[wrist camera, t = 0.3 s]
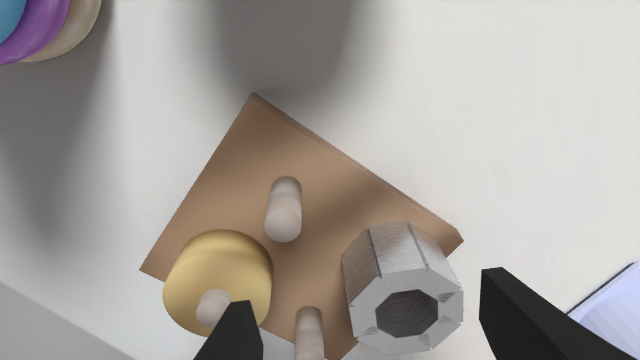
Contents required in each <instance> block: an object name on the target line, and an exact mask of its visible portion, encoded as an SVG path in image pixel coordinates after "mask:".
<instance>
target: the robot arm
mask: <svg viewBox="0 0 640 360" xmlns="http://www.w3.org/2000/svg"><path fill="white" fill-rule="evenodd" d="M479 320H480V323H481V325H482V328H483V330H484V333H485V335H486V338H487V340H488V343H489V345H490V347H491V350H492V352H493V354H494V356H495V357H496V359H497V360H640V262H637V263H634V264H633V265H631V266H630V267H629V268H627V269H626V270H625V271H624V272H622V273H621V274H620V275H618V276H617V277H616V278H614V279H613V280H612V281H611V282H609V283H608V284H607V285H605V286H604V287H603V288H601V289H600V290H599V291H598V292H596V293H595V294H594V295H592V296H591V297H590V298H588V299H587V300H586V301H585V302H583V303H582V304H581V305H579V306H578V307H577V308H575V309H574V310H573V311H572V312H570V313H569V314H568V315H566V314H565V313H563V312H562V311H561V310H559V309H558V308H556V307H555V306H554V305H552V304H551V303H549V302H548V301H547V300H545V299H544V298H543V297H541V296H540V295H538V294H537V293H536V292H534V291H533V290H532V289H530V288H529V287H528V286H526V285H525V284H524V283H522V282H521V281H520V280H519V279H517V278H516V277H515V276H513V275H512V274H511V273H509V272H508V271H507V270H505V269H504V268H503V267H498V268H490V269H482V273H481V290H480V308H479ZM193 360H263V343H262V339H261V336H260V332H259V329H258V326H257V322H256V319H255V315H254V312H253V308H252V305H251V302H250V300H243V301H236V302H231V303H230V304H229V305H228V307H227V308H226V310H225V311H224V313H223V315H222V316H221V318H220V319H219V321H218V323H217V324H216V326H215V328H214V329H213V331H212V332H211V334H210V335H209V337H208V338H207V340H206V342H205V343H204V345H203V346H202V347H201V349H200V350H199V352H198V353H197V355H196V356H195V358H194V359H193Z"/></svg>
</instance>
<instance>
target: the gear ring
mask: <svg viewBox="0 0 640 360" xmlns="http://www.w3.org/2000/svg"><path fill="white" fill-rule="evenodd" d="M368 229H369V230H368ZM368 229H366V228H364V229H363V230H362V231H361V232H360V233H359V234H358V236H357V237H356V238H355V239H354V240H353V241H352V242H351V243H350V244H349V246H348V247H347V248H346V249H345V250H344V251H343V255H342V262H343V269H344V276H345V283H346V290H347V297H348V304H349V311H350V317H351V322H352V328H353V334H354V337H356V340H357V341H359V342H361V343H363V344H365V345H367V346H369V347H371V348H373V349H375V350H377V351H379V352H381V353H383V354H385V355H388V354H389V353H390V355H391V356H393V355H400V354H407V353H414V352H421V351H428V350H430V348H429V346H430V347H432V348H433V349H434V348H435V347H436V346H437V345H438V344H439V343H441V342H442V341H443V340H444V339H445V338H446V337H448V336H449V335H450V334H451V333H452V332H453V331H454V330H456V329H457V328H458V327H459V326H460V325H461V323H460V322H463V289H462V287H461V285H460V284H459V282H458V280H457V278H456V276H455V274H454V272H453V270H452V269H451V267H450V265H449V263H448V261H447V259H446V257H445V256H444V254H443V252H442V250H441V248H440V246H439V244H438V243H437V241H436V239H435V238H434V237H433V236H431V235H429V234H428V233H426V232H425V231H423V230H422V229H420V228H419V227H417V226H416V225H414V224H413V223H411V222H409V221H408V222H407V223H406V222H405V220H402V221H396V222H389V223H383V224H376V225H370V226H368Z"/></svg>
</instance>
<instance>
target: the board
mask: <svg viewBox="0 0 640 360" xmlns="http://www.w3.org/2000/svg"><path fill="white" fill-rule="evenodd" d="M402 220H405V222H406V223H407V222H408V221H409V222H411V223H413V224H414V225H416V226H417V227H419V228H420V229H422V230H423V231H425V232H426V233H428V234H429V235H431V236H433V237H434V238H435V239H436V241H437V243H438V244H439V246H440V248H441V250H442V252H443V254H444V256H445V257H446V258H447V257H448V256H449V255H450V254H451V253H452V252H453V251H454V250H455V249H456V248H457V247H458V246H459V245H460V244H461V243H462V242H463V241H464V240H463V239H462V237H461V235H460V234H459V232H458V231H457V229H456V228H454V227H453V226H451V225H450V224H448V223H447V222H445V221H444V220H442V219H441V218H439V217H438V216H436V215H435V214H433V213H432V212H430V211H429V210H427V209H426V208H424V207H423V206H421V205H420V204H418V203H417V202H415V201H414V200H412V199H411V198H409V197H408V196H407V195H405V194H404V193H402V192H401V191H399V190H398V189H396V188H395V187H393V186H392V185H390V184H389V183H387V182H386V181H384V180H383V179H381V178H380V177H378V176H377V175H375V174H374V173H372V172H371V171H369V170H368V169H366V168H365V167H363V166H362V165H360V164H359V163H357V162H356V161H355V160H353V159H352V158H350V157H349V156H347V155H346V154H344V153H343V152H341V151H340V150H338V149H337V148H335V147H334V146H332V145H331V144H329V143H328V142H326V141H325V140H323V139H322V138H320V137H319V136H317V135H316V134H314V133H313V132H311V131H310V130H308V129H307V128H305V127H304V126H303V125H301V124H300V123H298V122H297V121H295V120H294V119H292V118H291V117H289V116H288V115H286V114H285V113H283V112H282V111H280V110H279V109H277V108H276V107H274V106H273V105H271V104H270V103H268V102H267V101H265V100H264V99H262V98H261V97H259V96H258V95H256V94H255V93H254V92H253V93H252V95H251V96H250V98H249V99H248V101H247V102H246V104H245V105H244V107H243V109H242V110H241V112H240V113H239V115H238V116H237V118H236V119H235V121H234V123H233V124H232V126H231V127H230V129H229V130H228V132H227V133H226V135H225V137H224V138H223V140H222V141H221V143H220V144H219V146H218V147H217V149H216V150H215V152H214V154H213V155H212V157H211V158H210V160H209V161H208V163H207V164H206V166H205V168H204V169H203V171H202V172H201V174H200V175H199V177H198V178H197V180H196V181H195V183H194V185H193V186H192V188H191V189H190V191H189V192H188V194H187V195H186V197H185V199H184V200H183V202H182V203H181V205H180V206H179V208H178V209H177V211H176V213H175V214H174V216H173V217H172V219H171V220H170V222H169V223H168V225H167V226H166V228H165V230H164V231H163V233H162V234H161V236H160V237H159V239H158V240H157V242H156V244H155V245H154V247H153V248H152V250H151V251H150V253H149V254H148V256H147V258H146V259H145V261H144V262H143V264H142V266H141V267H140V269H139V270H140V271H142V272H144V273H146V274H148V275H150V276H152V277H154V278H157V279H159V280H161V281H163V282H165V285H164V288H163V302H164V305H165V308H166V310H167V312H168V314H169V315H170V316H171V318H172V319H173V320H174V321H175V322H176V323H177V324H179V325H180V326H181V327H183V328H184V329H186V330H188V331H190V332H192V333H194V334H197V335H200V336H203V337H209V335H210V334H211V332H212V331H213V329H214V328H215V326H216V324H217V323H218V321H219V319H220V318H221V316H222V315H223V313H224V311H225V310H226V308H227V307H228V305H229V304H230V303H231V302H236V301H243V300H250V302H251V305H252V308H253V312H254V315H255V319H256V322H257V326H258V327H260V328H262V329H265V330H267V331H269V332H271V333H273V334H275V335H277V336H279V337H282V338H284V339H286V340H288V341H290V342H292V343H294V344H295V360H324V358H326V359H328V360H340V359H341V358H343V357H344V356H345V355H346V354H347V353H348V352H349V351H350V350H351V349H352V348H353V347H354V346H355V345H356V344H357V343H358V342H359V341H357V340H356V337H354V334H353V328H352V322H351V317H350V311H349V304H348V297H347V290H346V283H345V276H344V269H343V262H342V255H343V251H344V250H345V249H346V248H347V247H348V246H349V244H350V243H351V242H352V241H353V240H354V239H355V238H356V237H357V236H358V234H359V233H360V232H361V231H362V230H363V229H364V228H366V229H368V226H370V225H376V224H383V223H389V222H396V221H402ZM368 230H369V229H368Z"/></svg>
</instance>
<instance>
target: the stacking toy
mask: <svg viewBox="0 0 640 360" xmlns="http://www.w3.org/2000/svg"><path fill="white" fill-rule="evenodd" d="M101 2H102V0H0V65H4V64H10V63H13V62H37V61H44V60H48V59H52V58H55V57H58V56H60V55H62V54H64V53H66V52H68V51H70V50H71V49H73V48H74V47H76V46H77V45H78V44H79V43H80V42H81V41H82V40H83V39H84V38H85V37H86V36H87V35H88V33H89V32H90V30H91V29H92V27H93V25H94V24H95V21H96V19H97V16H98V14H99V10H100V6H101Z"/></svg>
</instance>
